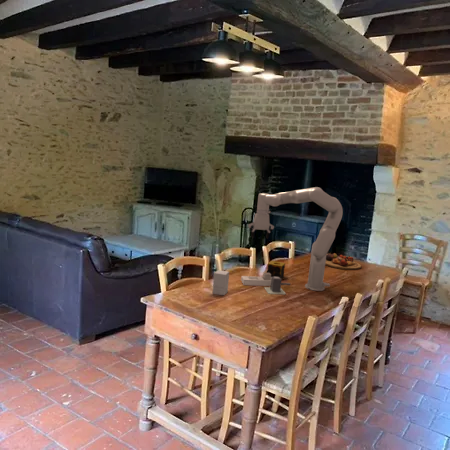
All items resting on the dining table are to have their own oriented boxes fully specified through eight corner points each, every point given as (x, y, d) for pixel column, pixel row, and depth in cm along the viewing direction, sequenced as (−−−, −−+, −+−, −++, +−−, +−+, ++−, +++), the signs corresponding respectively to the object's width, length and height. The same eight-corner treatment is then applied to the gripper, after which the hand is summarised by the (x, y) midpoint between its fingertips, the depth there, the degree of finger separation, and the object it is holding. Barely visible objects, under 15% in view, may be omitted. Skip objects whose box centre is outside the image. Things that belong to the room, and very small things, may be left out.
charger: (278, 289, 261) (279, 276, 260) (280, 291, 257) (281, 278, 255) (270, 289, 261) (271, 276, 259) (272, 291, 256) (273, 278, 254)
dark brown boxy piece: (265, 277, 286) (267, 263, 285) (269, 274, 296) (271, 260, 294) (280, 280, 283) (281, 266, 281) (283, 276, 292) (285, 263, 290)
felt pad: (281, 288, 265) (281, 287, 265) (285, 294, 254) (286, 293, 254) (264, 288, 263) (264, 287, 263) (268, 293, 252) (268, 293, 252)
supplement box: (227, 292, 250) (229, 271, 248) (223, 295, 243) (225, 274, 241) (216, 289, 252) (218, 269, 250) (211, 293, 245) (213, 272, 243)
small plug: (268, 280, 274) (269, 272, 273) (270, 282, 270) (271, 274, 269) (262, 279, 273) (263, 272, 272) (264, 281, 269) (265, 274, 269)
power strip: (288, 282, 278) (289, 276, 278) (291, 286, 271) (292, 280, 270) (241, 281, 273) (241, 274, 273) (243, 285, 266) (243, 278, 265)
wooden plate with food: (359, 273, 320) (360, 262, 319) (317, 265, 332) (318, 255, 330) (362, 265, 349) (364, 255, 348) (324, 258, 361) (325, 248, 360)
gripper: (274, 212, 277) (271, 237, 280) (248, 210, 275) (246, 236, 278) (276, 214, 270) (274, 239, 273) (250, 212, 267) (248, 238, 270)
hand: (260, 238), depth 275 cm, fingers open, 9 cm apart
